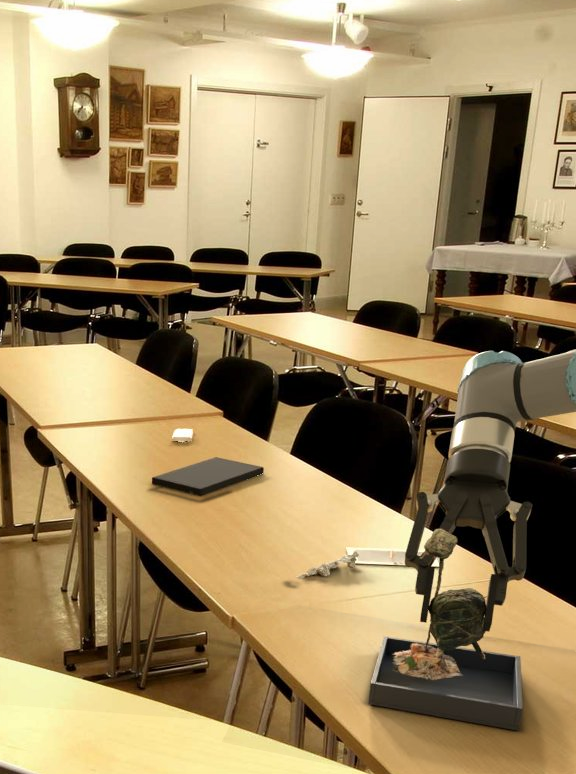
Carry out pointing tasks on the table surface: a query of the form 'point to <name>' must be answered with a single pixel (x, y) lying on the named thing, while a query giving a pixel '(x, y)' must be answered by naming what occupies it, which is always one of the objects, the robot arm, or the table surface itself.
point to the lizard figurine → (331, 565)
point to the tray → (453, 687)
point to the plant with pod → (445, 622)
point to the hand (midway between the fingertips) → (455, 622)
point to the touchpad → (382, 556)
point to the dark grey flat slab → (207, 476)
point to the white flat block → (182, 435)
